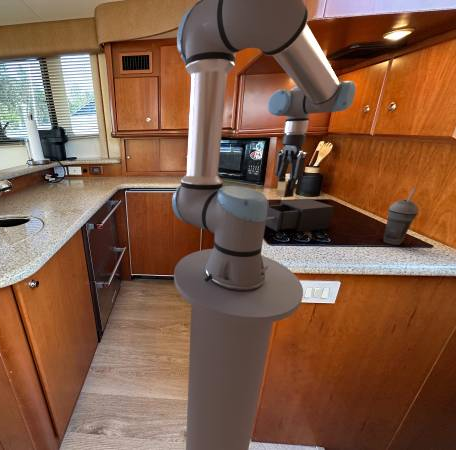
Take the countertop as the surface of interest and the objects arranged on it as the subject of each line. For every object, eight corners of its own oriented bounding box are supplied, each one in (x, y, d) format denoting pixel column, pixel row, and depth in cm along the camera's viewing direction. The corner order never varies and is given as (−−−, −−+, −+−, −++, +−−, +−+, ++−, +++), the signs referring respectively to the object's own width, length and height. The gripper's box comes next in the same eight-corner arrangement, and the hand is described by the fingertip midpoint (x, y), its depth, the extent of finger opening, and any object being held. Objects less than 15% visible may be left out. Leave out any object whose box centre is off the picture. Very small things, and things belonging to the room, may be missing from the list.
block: (283, 197, 94) (285, 183, 92) (276, 195, 98) (278, 181, 96) (293, 196, 95) (295, 182, 93) (285, 194, 99) (287, 180, 97)
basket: (263, 232, 94) (266, 214, 91) (247, 223, 104) (250, 206, 102) (305, 228, 97) (309, 210, 95) (286, 219, 108) (289, 202, 105)
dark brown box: (298, 231, 96) (302, 209, 93) (277, 221, 108) (280, 201, 105) (328, 228, 99) (334, 206, 96) (305, 218, 111) (309, 198, 107)
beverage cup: (396, 238, 88) (416, 185, 81) (411, 247, 81) (434, 189, 74) (373, 237, 89) (390, 184, 82) (386, 245, 83) (406, 189, 76)
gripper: (323, 133, 81) (309, 199, 89) (286, 134, 97) (277, 190, 105) (304, 133, 80) (291, 201, 88) (270, 134, 96) (262, 191, 104)
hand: (284, 195), depth 96 cm, fingers closed on block, 4 cm apart
